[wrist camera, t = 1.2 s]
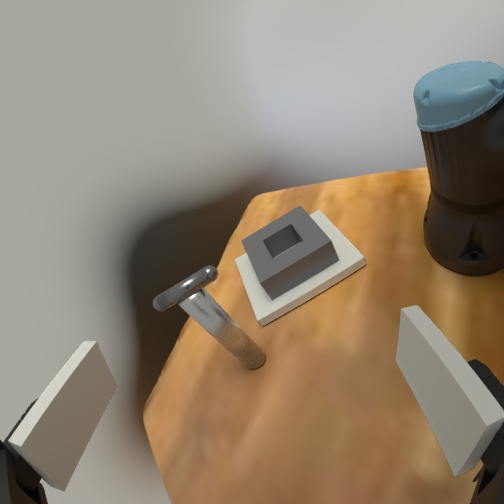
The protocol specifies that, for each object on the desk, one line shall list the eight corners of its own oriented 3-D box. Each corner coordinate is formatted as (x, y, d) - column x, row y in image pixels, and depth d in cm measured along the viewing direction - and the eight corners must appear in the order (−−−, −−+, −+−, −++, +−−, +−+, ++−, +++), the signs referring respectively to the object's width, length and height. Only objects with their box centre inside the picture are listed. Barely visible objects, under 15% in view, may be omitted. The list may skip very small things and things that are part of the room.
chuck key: (276, 337, 39) (210, 255, 30) (284, 354, 37) (214, 273, 27) (228, 362, 40) (150, 292, 30) (233, 380, 38) (149, 312, 28)
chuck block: (321, 215, 53) (310, 191, 50) (366, 264, 41) (357, 236, 37) (239, 265, 54) (223, 243, 51) (262, 326, 42) (243, 304, 39)
